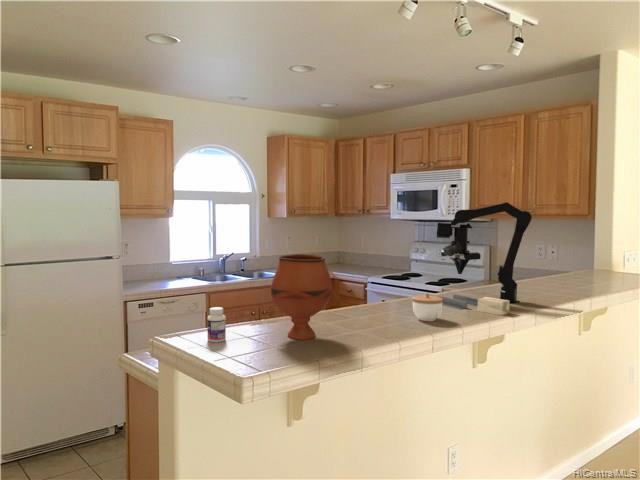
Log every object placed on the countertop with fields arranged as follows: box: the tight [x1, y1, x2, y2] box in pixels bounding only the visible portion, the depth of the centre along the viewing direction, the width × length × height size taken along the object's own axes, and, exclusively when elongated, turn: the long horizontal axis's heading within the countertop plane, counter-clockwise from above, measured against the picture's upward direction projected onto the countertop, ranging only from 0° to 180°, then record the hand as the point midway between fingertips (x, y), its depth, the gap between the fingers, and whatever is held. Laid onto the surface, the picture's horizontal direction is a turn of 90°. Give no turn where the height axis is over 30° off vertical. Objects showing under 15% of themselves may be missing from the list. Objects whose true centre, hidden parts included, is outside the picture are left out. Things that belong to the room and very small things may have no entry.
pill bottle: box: [206, 306, 227, 343], centre depth 154 cm, size 5×5×10 cm
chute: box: [437, 293, 479, 310], centre depth 214 cm, size 15×16×2 cm
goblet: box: [270, 253, 333, 340], centre depth 159 cm, size 19×19×25 cm
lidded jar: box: [411, 292, 443, 322], centre depth 185 cm, size 11×11×9 cm
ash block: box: [476, 296, 510, 316], centre depth 198 cm, size 6×10×5 cm, turn 43°
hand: (459, 274), depth 224 cm, fingers closed
